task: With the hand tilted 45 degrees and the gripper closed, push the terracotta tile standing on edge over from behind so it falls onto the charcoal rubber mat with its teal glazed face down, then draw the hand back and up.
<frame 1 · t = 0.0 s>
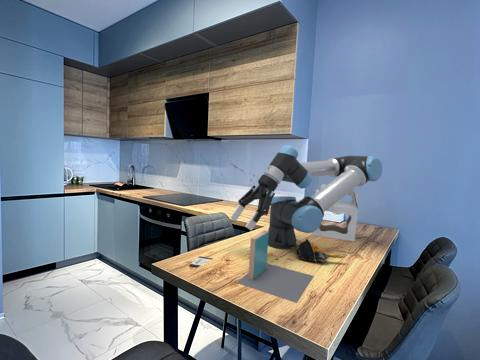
hand: (240, 223, 98), 15 cm above the worktop, tool tilted 35°, fingers open, 13 cm apart
tile: (257, 273, 89), point 1 cm above the worktop, touching mat
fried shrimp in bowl: (318, 261, 105), on the worktop
mat: (276, 280, 86), on the worktop
gable box: (332, 235, 143), on the worktop
chocolate bar: (216, 267, 96), on the worktop
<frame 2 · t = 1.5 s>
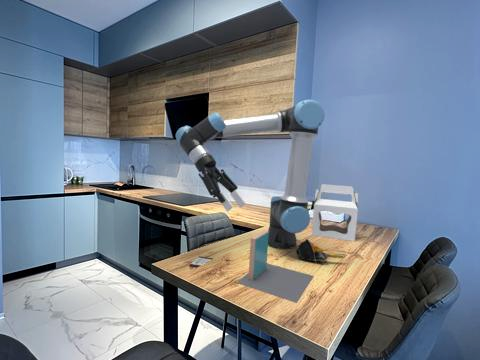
hand: (236, 207, 92), 23 cm above the worktop, tool tilted 45°, fingers open, 8 cm apart
nothing on the worktop moved.
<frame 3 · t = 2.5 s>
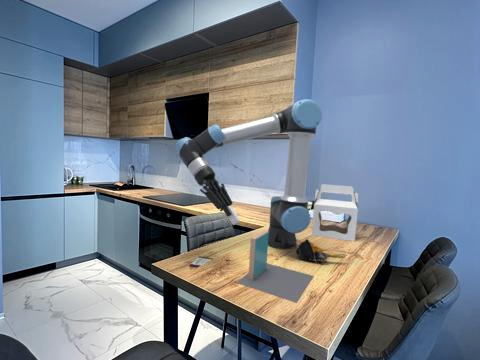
hand: (236, 222, 92), 17 cm above the worktop, tool tilted 45°, fingers closed
nothing on the worktop moved.
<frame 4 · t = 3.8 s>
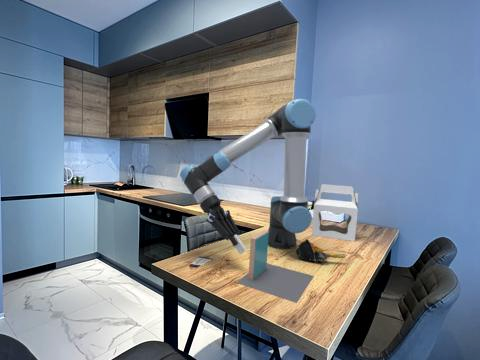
hand: (243, 251, 92), 7 cm above the worktop, tool tilted 45°, fingers closed
nothing on the worktop moved.
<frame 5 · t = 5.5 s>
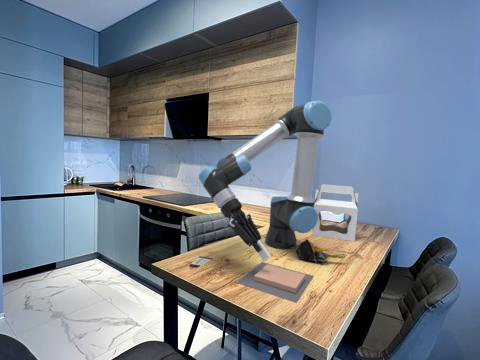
hand: (267, 258, 87), 7 cm above the worktop, tool tilted 45°, fingers closed
tile: (260, 271, 89), point 2 cm above the worktop, tilted 90°, touching mat
everything else where it was.
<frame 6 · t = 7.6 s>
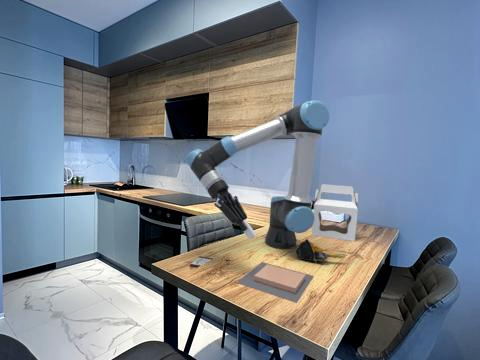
hand: (252, 237, 89), 13 cm above the worktop, tool tilted 45°, fingers closed
nothing on the worktop moved.
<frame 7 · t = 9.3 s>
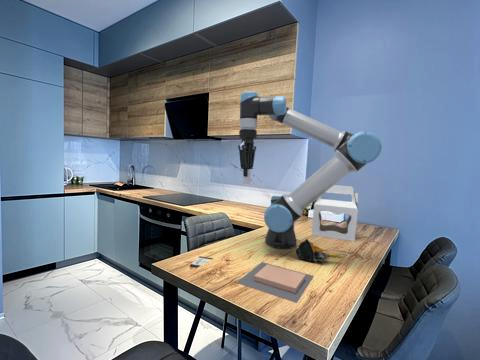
hand: (246, 183, 112), 29 cm above the worktop, tool pointing down, fingers closed
nothing on the worktop moved.
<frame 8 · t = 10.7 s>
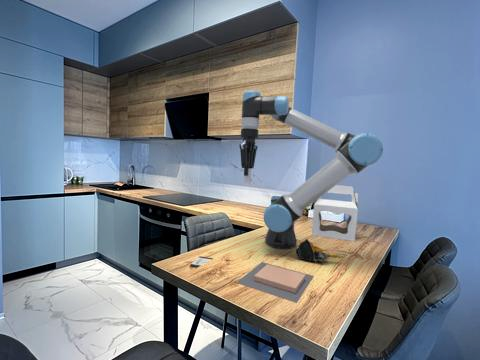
hand: (246, 183, 113), 29 cm above the worktop, tool pointing down, fingers closed
nothing on the worktop moved.
at the end: tile tilted 90°; tile inside the target area on the mat (0.2 cm from its centre), point 1.5 cm above the mat's base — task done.
